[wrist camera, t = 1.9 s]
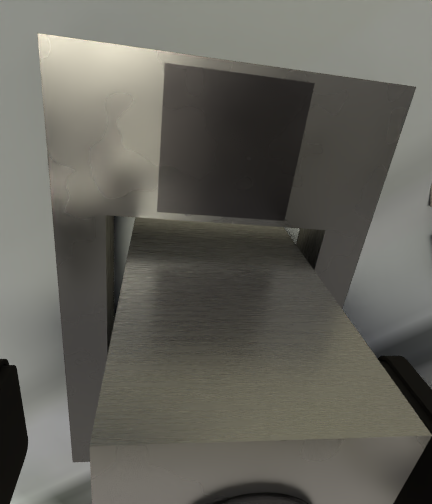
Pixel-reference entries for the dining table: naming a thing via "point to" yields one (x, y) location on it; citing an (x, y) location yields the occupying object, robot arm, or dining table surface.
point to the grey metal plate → (199, 170)
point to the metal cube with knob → (241, 380)
